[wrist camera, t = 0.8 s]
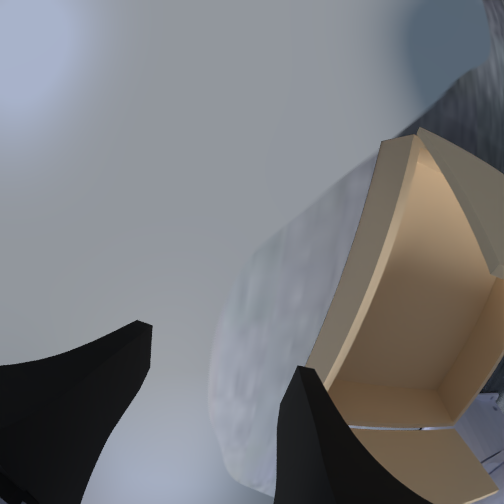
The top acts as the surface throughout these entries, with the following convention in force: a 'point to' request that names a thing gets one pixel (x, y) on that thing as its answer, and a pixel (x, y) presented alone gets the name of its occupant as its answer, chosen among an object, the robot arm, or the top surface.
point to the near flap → (473, 195)
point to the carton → (410, 303)
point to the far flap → (430, 463)
